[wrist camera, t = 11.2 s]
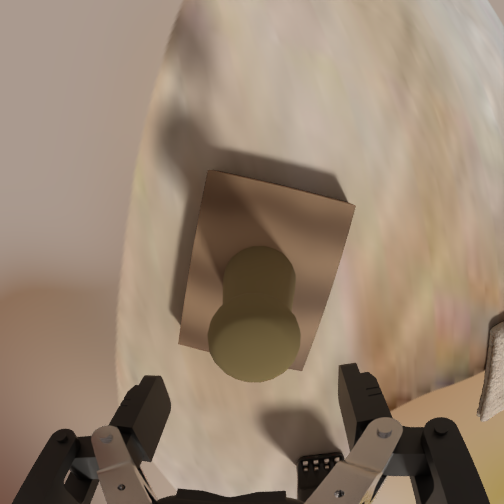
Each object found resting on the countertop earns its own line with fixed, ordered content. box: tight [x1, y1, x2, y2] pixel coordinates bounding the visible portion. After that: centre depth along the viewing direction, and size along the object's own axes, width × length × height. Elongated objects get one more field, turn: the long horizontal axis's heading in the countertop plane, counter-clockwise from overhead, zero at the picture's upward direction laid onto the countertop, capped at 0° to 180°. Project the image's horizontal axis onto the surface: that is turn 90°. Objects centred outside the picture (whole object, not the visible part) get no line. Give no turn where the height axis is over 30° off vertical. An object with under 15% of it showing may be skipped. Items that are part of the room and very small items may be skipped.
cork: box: [207, 246, 301, 382], centre depth 21 cm, size 6×6×11 cm
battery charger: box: [296, 453, 344, 502], centre depth 30 cm, size 7×4×11 cm, turn 96°
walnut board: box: [178, 170, 356, 371], centre depth 27 cm, size 16×12×2 cm
